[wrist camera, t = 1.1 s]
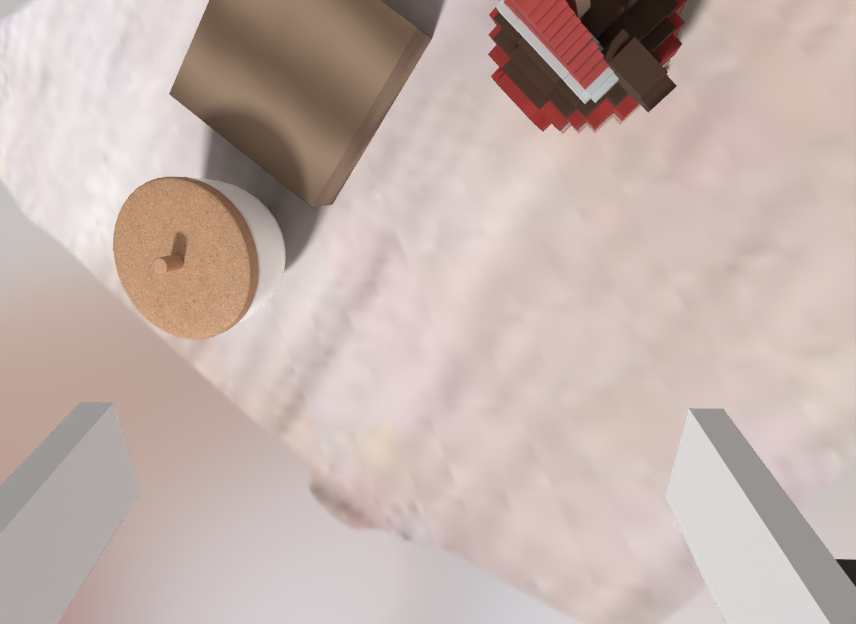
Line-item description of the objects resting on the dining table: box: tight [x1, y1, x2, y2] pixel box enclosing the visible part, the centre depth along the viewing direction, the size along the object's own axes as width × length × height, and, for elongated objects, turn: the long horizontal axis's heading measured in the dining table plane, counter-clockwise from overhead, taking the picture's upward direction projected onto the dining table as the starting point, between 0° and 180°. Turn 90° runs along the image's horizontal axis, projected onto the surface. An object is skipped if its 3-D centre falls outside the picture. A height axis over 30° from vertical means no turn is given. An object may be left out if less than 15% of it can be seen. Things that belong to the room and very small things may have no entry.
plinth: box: [170, 0, 432, 207], centre depth 37 cm, size 13×13×3 cm
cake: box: [488, 0, 687, 133], centre depth 25 cm, size 11×9×18 cm
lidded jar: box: [113, 177, 286, 339], centre depth 39 cm, size 11×11×9 cm
